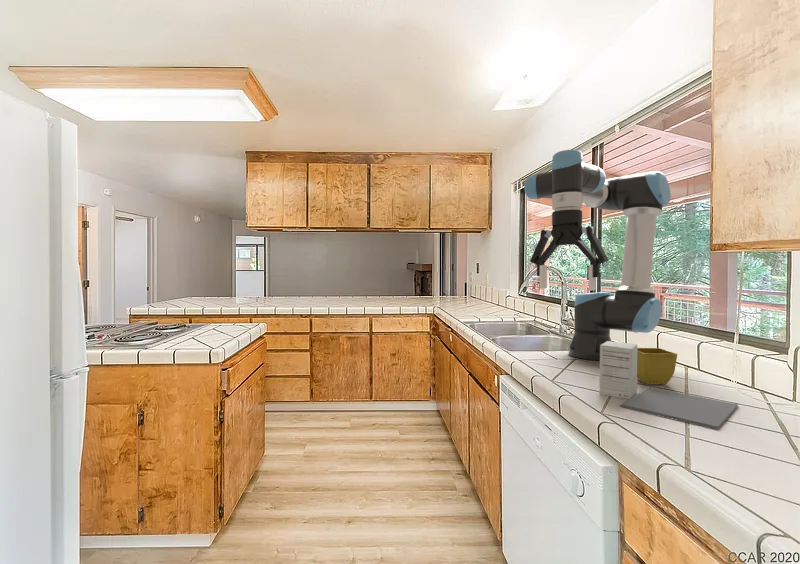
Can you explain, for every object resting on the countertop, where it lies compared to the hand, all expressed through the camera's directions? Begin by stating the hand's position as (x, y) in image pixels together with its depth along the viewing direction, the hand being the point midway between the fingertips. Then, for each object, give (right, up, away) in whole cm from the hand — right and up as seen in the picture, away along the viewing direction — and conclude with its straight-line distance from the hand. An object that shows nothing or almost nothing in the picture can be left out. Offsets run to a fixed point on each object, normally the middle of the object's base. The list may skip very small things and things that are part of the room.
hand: (566, 289), depth 111 cm
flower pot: (+25, -26, +4) cm, 37 cm away
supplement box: (+10, -27, -7) cm, 29 cm away
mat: (+19, -27, -17) cm, 37 cm away
